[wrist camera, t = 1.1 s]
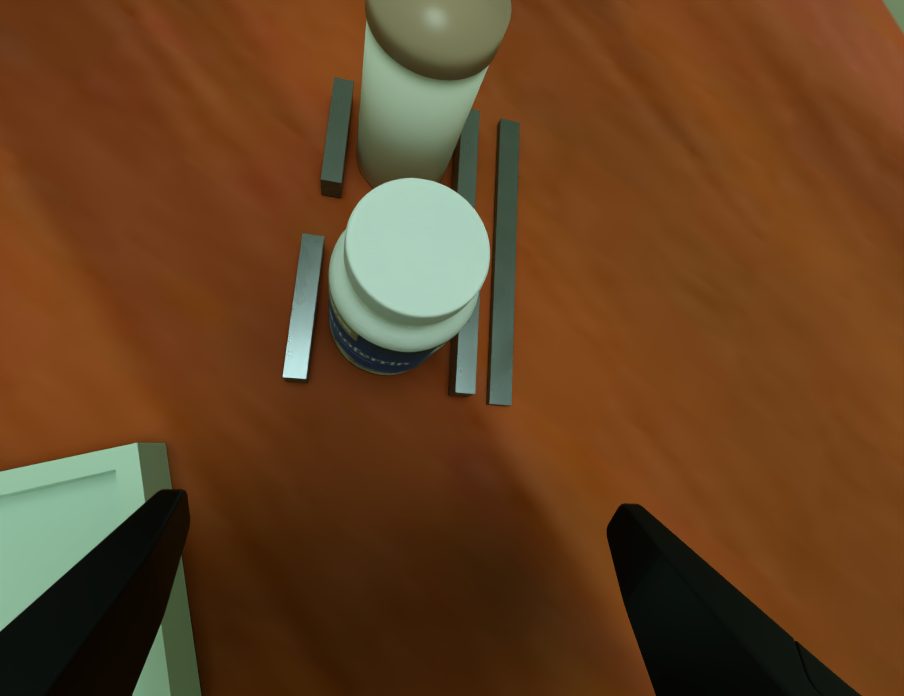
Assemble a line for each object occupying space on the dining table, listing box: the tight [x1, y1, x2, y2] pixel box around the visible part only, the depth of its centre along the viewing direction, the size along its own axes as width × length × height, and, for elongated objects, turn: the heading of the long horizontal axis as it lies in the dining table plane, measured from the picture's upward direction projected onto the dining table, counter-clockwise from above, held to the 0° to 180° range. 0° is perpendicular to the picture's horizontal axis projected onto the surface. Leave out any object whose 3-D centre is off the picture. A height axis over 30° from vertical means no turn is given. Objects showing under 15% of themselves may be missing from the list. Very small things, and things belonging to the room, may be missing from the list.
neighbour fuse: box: [356, 0, 511, 188], centre depth 21 cm, size 5×5×10 cm
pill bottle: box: [329, 178, 490, 375], centre depth 19 cm, size 6×6×10 cm
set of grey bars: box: [283, 77, 520, 406], centre depth 24 cm, size 17×11×2 cm, turn 177°
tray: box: [0, 443, 201, 696], centre depth 17 cm, size 11×11×3 cm
